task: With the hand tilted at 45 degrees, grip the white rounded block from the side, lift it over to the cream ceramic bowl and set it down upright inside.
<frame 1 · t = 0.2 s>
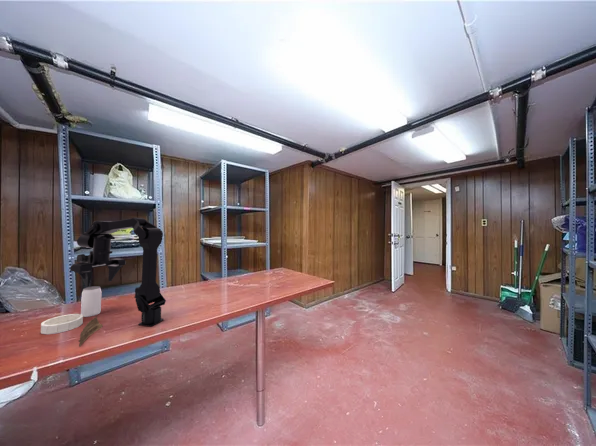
hand: (99, 283, 95), 14 cm above the table, tool pointing down, fingers open, 9 cm apart
brown curved piece: (90, 336, 78), on the table
white rounded block: (90, 314, 97), on the table
bowl: (62, 327, 84), on the table
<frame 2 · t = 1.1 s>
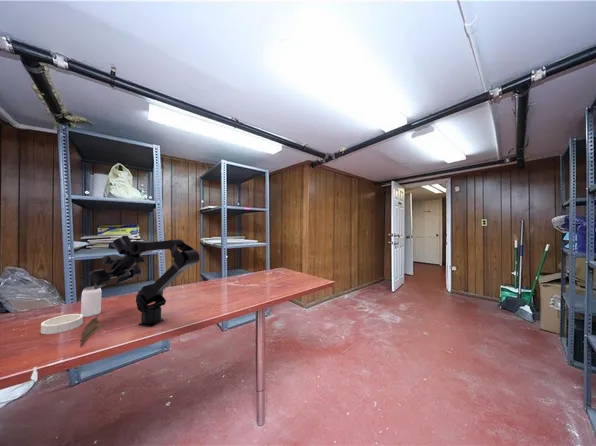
hand: (106, 285, 95), 13 cm above the table, tool tilted 45°, fingers open, 9 cm apart
nothing on the table moved.
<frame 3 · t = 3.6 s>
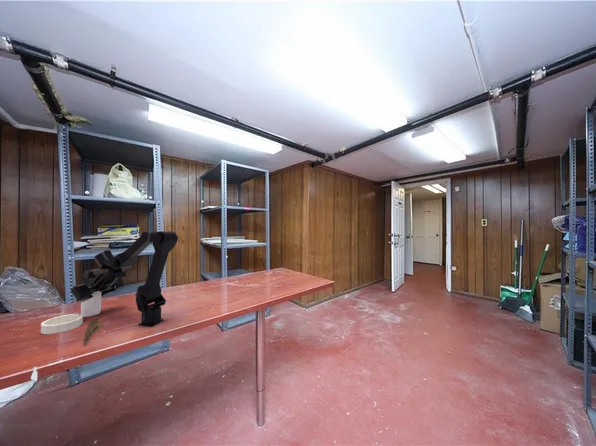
hand: (89, 299, 97), 7 cm above the table, tool tilted 45°, fingers closed on white rounded block, 5 cm apart
white rounded block: (90, 314, 97), on the table, touching gripper
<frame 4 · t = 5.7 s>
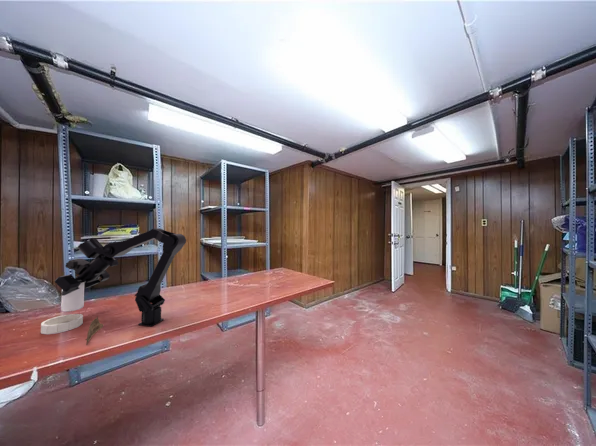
hand: (69, 292, 89), 12 cm above the table, tool tilted 45°, fingers closed on white rounded block, 5 cm apart
white rounded block: (72, 309, 88), point 5 cm above the table, touching gripper
when the fingers open (8 cm above the table, at t = 7.4 s): white rounded block drops 1 cm, resting on bowl.
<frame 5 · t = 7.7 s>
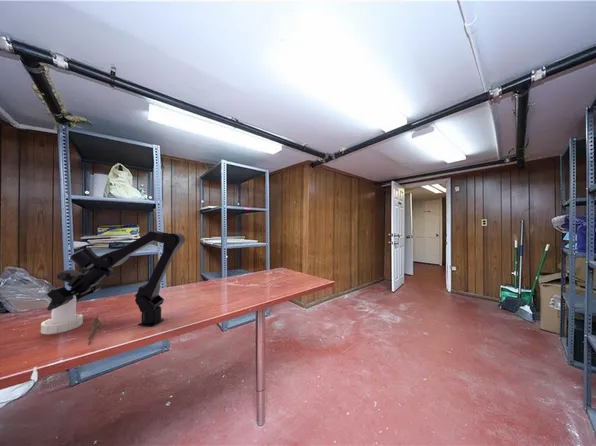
hand: (59, 305, 84), 9 cm above the table, tool tilted 45°, fingers open, 9 cm apart
white rounded block: (63, 326, 84), resting on bowl
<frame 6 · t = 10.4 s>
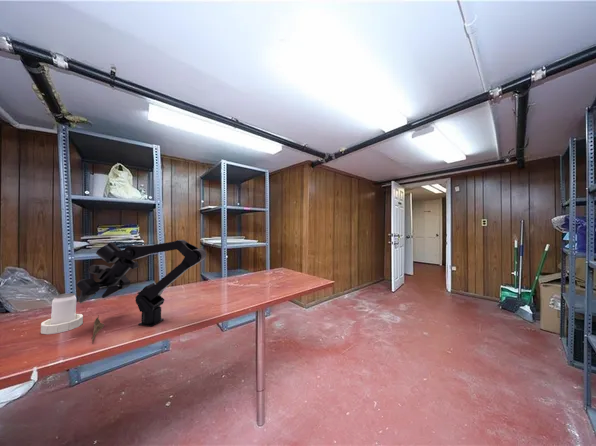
hand: (91, 299, 88), 10 cm above the table, tool tilted 40°, fingers open, 9 cm apart
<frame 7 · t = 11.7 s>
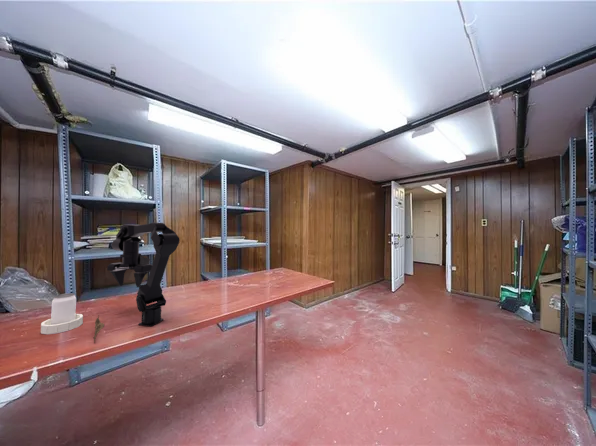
hand: (129, 286, 97), 13 cm above the table, tool pointing down, fingers open, 9 cm apart
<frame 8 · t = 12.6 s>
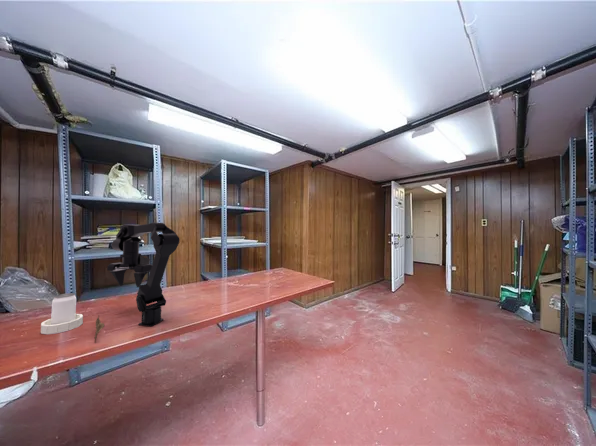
hand: (129, 286, 97), 13 cm above the table, tool pointing down, fingers open, 9 cm apart
at the end: white rounded block 0.2 cm off-centre on the bowl, point 0.3 cm above the bowl's base; white rounded block tilted 0°; the gripper is holding nothing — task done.
